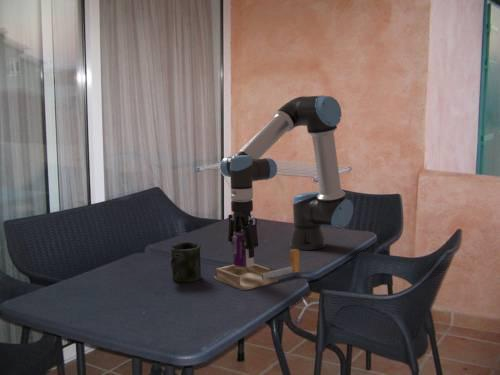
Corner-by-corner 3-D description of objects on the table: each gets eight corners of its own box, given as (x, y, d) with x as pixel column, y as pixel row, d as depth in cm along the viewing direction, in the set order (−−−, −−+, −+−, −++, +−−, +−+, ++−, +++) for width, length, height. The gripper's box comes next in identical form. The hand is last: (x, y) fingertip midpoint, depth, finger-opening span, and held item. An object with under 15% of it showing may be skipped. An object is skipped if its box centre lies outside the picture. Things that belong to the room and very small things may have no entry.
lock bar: (295, 270, 219) (295, 248, 218) (299, 271, 218) (299, 249, 216) (260, 278, 209) (260, 256, 208) (264, 280, 208) (263, 257, 207)
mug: (207, 275, 219) (206, 243, 217) (187, 287, 206) (185, 253, 204) (182, 272, 224) (180, 241, 222) (160, 283, 210) (158, 250, 209)
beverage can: (251, 268, 208) (250, 234, 207) (231, 268, 210) (230, 234, 208) (255, 263, 215) (254, 230, 214) (235, 262, 217) (234, 230, 215)
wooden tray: (247, 270, 224) (246, 260, 224) (278, 281, 210) (278, 271, 209) (213, 278, 215) (213, 268, 215) (243, 290, 201) (243, 279, 200)
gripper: (216, 197, 215) (218, 260, 218) (250, 204, 199) (252, 272, 202) (233, 195, 219) (235, 257, 223) (268, 202, 204) (269, 268, 207)
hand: (243, 264), depth 212 cm, fingers closed on beverage can, 7 cm apart
